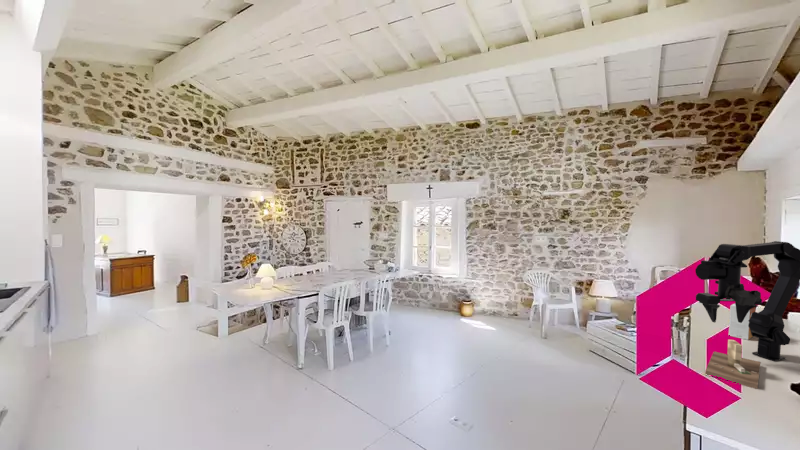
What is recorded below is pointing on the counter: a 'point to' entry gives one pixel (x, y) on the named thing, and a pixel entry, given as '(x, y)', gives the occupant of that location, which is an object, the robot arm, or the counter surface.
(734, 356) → the beige wooden angled piece
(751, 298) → the robot arm
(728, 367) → the board
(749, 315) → the small box
